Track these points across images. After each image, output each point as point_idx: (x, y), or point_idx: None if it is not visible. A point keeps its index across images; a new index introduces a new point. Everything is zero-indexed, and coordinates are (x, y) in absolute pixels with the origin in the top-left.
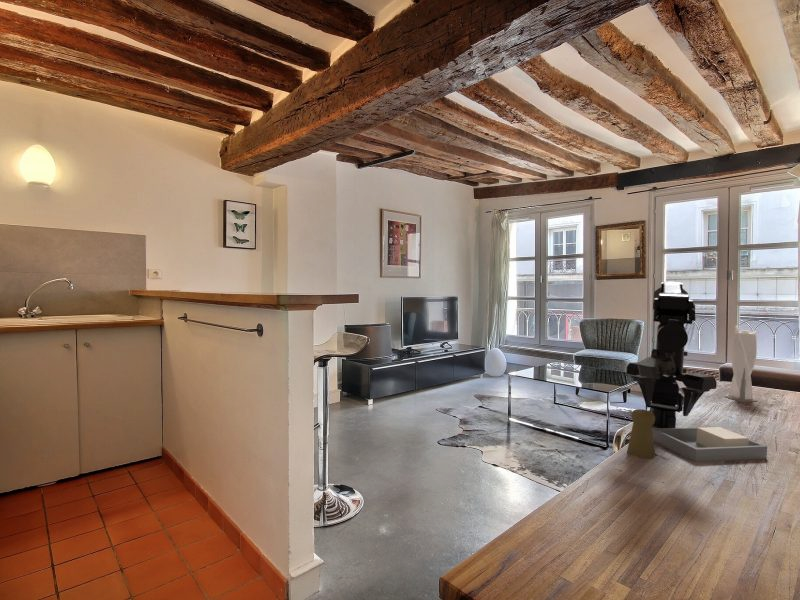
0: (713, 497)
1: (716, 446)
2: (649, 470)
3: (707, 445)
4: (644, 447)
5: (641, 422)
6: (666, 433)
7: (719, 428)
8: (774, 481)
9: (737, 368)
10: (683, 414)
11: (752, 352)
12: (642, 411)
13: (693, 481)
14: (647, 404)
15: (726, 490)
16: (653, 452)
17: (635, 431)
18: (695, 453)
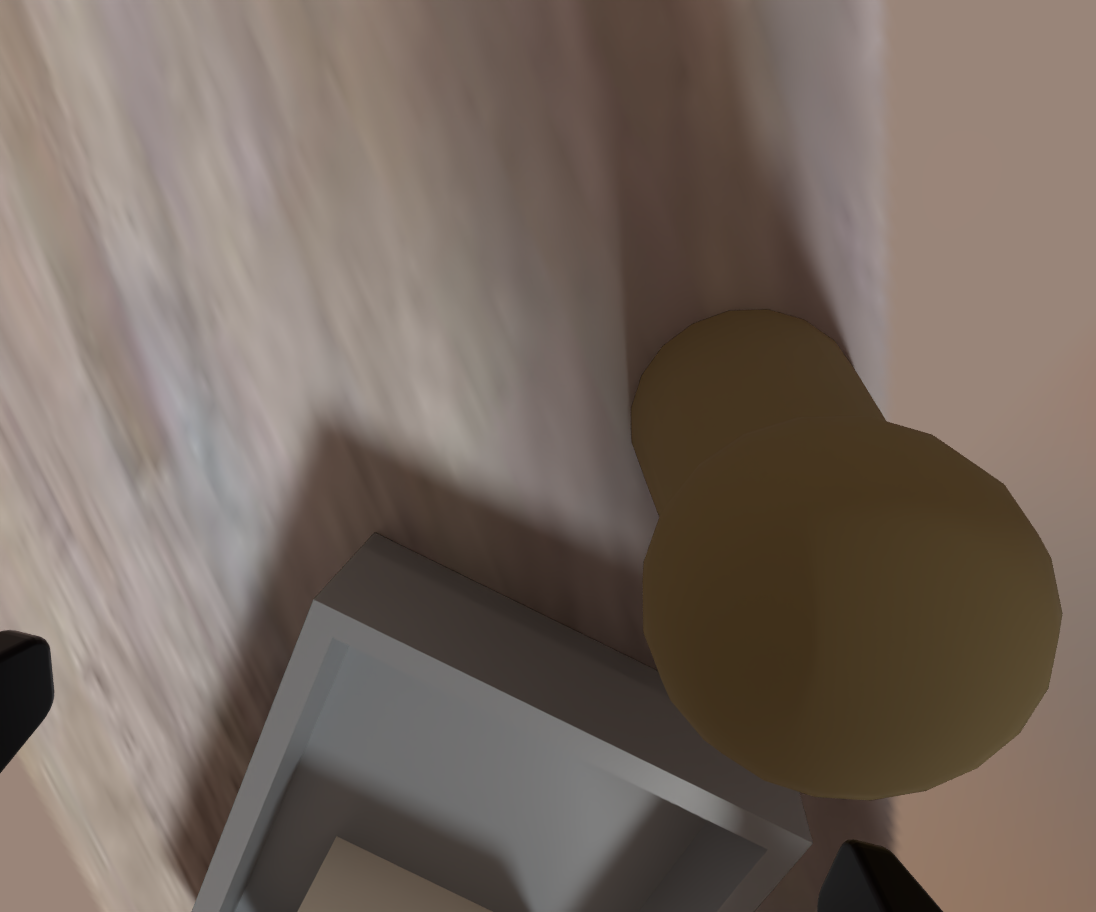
0: (21, 23)
1: (376, 895)
2: (520, 80)
3: (450, 907)
4: (688, 364)
5: (781, 426)
6: (705, 882)
7: None
8: None
9: None
10: (8, 644)
11: None
12: (858, 603)
13: (234, 205)
14: (854, 856)
15: (63, 262)
16: (635, 443)
17: (832, 393)
18: (339, 583)
